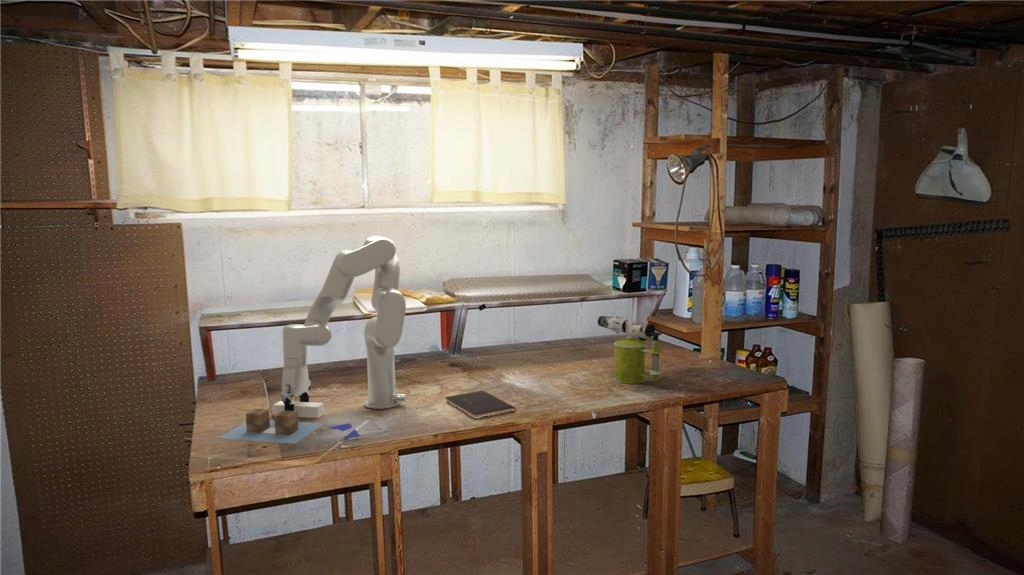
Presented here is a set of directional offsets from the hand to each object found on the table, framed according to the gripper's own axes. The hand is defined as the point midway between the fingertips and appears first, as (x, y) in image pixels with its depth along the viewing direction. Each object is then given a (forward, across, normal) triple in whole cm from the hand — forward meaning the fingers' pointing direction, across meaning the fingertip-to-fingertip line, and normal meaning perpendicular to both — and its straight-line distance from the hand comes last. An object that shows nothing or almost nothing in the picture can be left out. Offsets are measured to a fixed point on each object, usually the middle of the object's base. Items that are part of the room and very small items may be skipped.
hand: (297, 410), depth 229 cm
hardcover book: (+2, -23, +57) cm, 62 cm away
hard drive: (+3, +12, +22) cm, 25 cm away
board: (+3, +16, 0) cm, 16 cm away
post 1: (+2, +16, -5) cm, 16 cm away
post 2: (+2, +16, +5) cm, 17 cm away
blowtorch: (0, -67, +107) cm, 127 cm away
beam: (+3, 0, 0) cm, 3 cm away
